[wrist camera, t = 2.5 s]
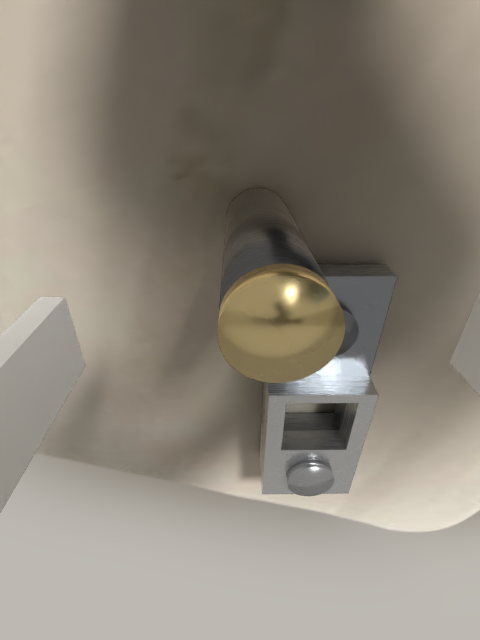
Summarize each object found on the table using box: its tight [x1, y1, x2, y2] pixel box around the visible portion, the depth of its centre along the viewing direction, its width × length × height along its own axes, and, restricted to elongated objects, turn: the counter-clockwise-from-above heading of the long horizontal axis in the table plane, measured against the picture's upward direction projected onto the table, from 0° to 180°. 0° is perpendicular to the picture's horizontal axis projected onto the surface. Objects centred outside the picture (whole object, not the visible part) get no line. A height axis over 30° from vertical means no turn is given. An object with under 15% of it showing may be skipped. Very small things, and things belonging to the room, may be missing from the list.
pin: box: [218, 188, 345, 383], centre depth 16 cm, size 4×4×13 cm
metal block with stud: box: [259, 264, 397, 496], centre depth 27 cm, size 21×8×5 cm, turn 0°
